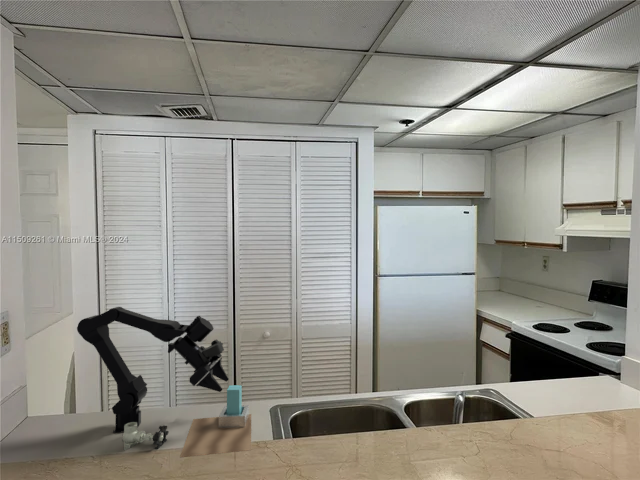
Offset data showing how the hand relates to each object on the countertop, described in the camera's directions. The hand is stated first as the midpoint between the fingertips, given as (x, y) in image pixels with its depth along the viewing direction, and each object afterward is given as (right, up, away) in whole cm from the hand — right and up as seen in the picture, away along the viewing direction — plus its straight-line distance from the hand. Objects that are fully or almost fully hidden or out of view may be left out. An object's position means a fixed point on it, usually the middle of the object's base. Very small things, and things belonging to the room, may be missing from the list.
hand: (224, 385), depth 120 cm
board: (+1, -13, -8) cm, 15 cm away
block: (+3, -12, 0) cm, 12 cm away
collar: (+3, -12, 0) cm, 12 cm away
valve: (-20, -13, -14) cm, 28 cm away
